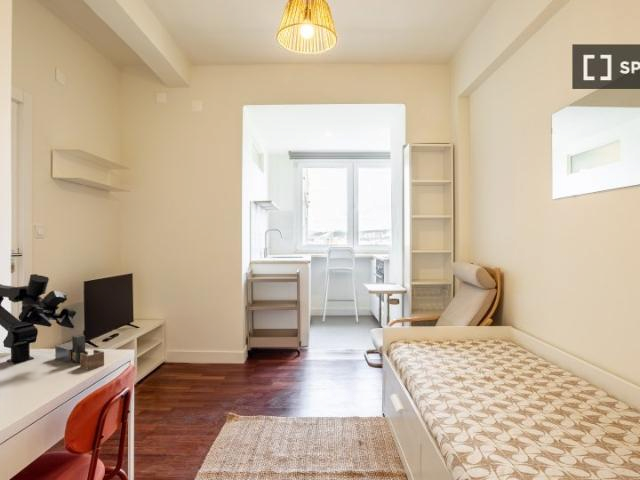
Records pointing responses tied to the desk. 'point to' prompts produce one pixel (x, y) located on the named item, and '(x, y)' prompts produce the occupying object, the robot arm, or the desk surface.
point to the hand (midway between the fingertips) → (62, 326)
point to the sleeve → (64, 352)
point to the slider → (78, 347)
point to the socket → (92, 360)
